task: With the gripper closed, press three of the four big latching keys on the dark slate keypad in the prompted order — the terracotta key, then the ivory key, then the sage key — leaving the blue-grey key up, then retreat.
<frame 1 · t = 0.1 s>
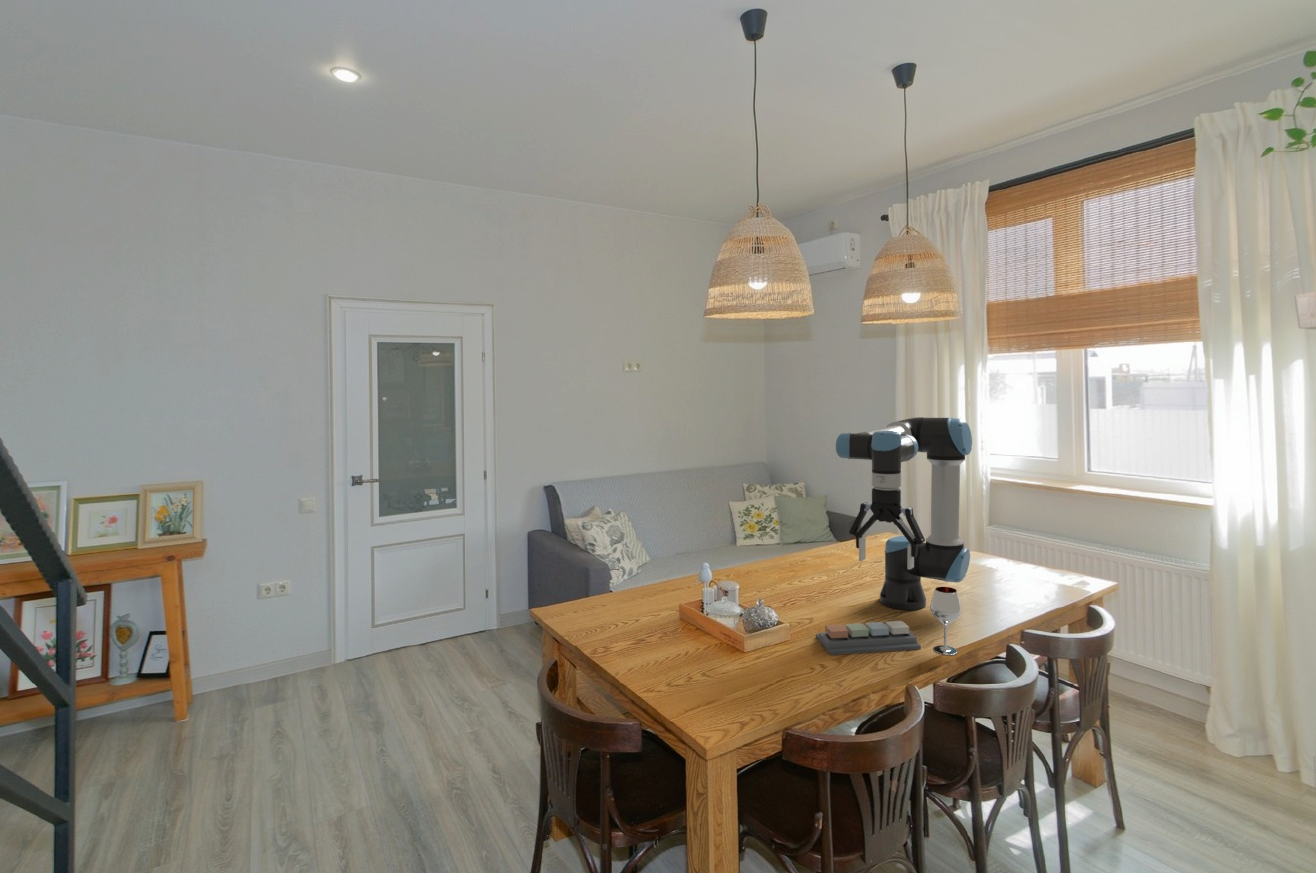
hand: (885, 564, 185), 28 cm above the table, fingers open, 13 cm apart
key terracotta: (836, 631, 199), point 4 cm above the table, slide at 0.0 cm
wineglass: (945, 651, 194), on the table
key sage: (856, 629, 200), point 4 cm above the table, slide at 0.0 cm
key bluegrey: (877, 628, 200), point 4 cm above the table, slide at 0.0 cm
key ivory: (897, 627, 201), point 4 cm above the table, slide at 0.0 cm
keypad: (867, 642, 200), on the table
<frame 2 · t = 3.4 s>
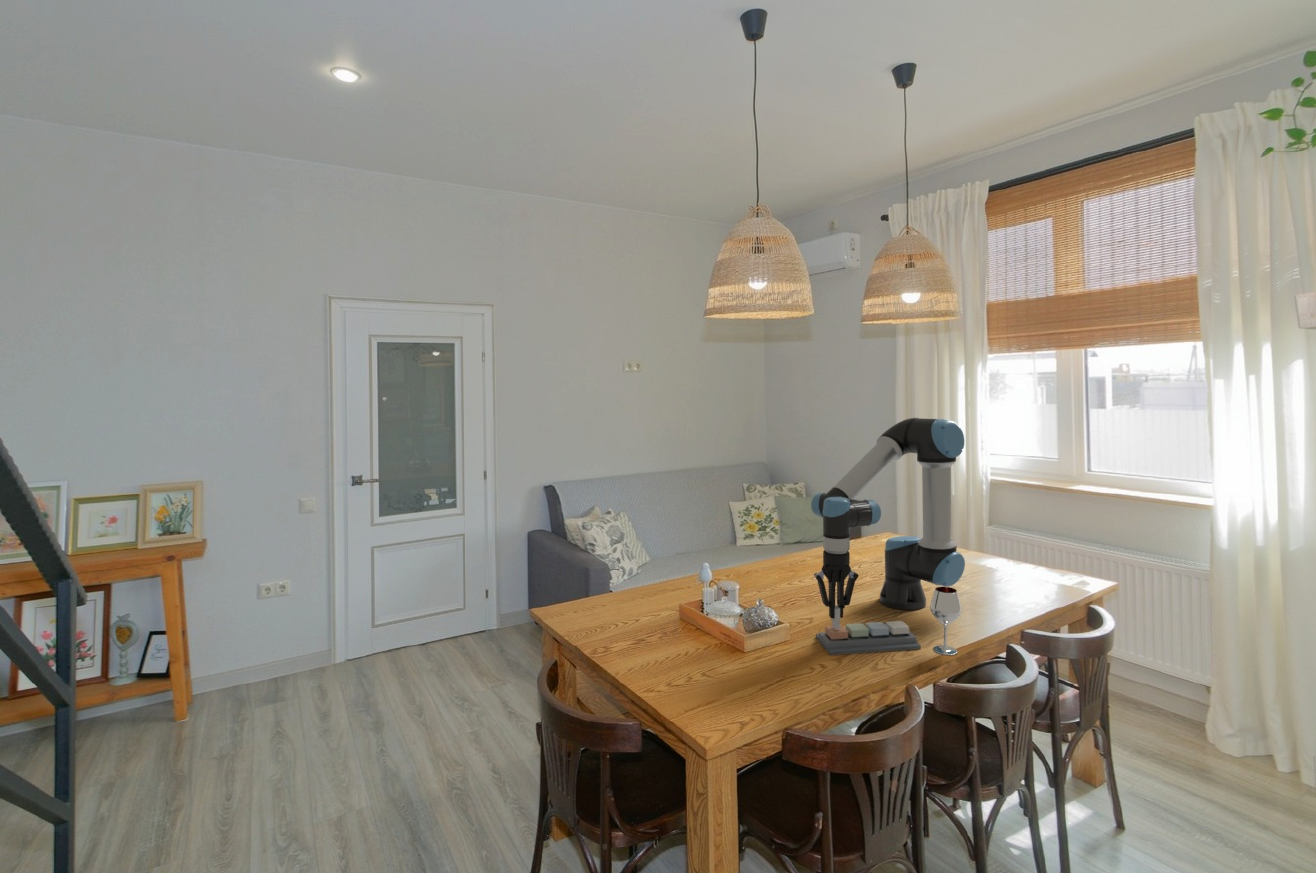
hand: (836, 628, 199), 5 cm above the table, fingers closed
key terracotta: (836, 632, 199), point 4 cm above the table, slide at 0.3 cm, touching gripper
everything else where it was.
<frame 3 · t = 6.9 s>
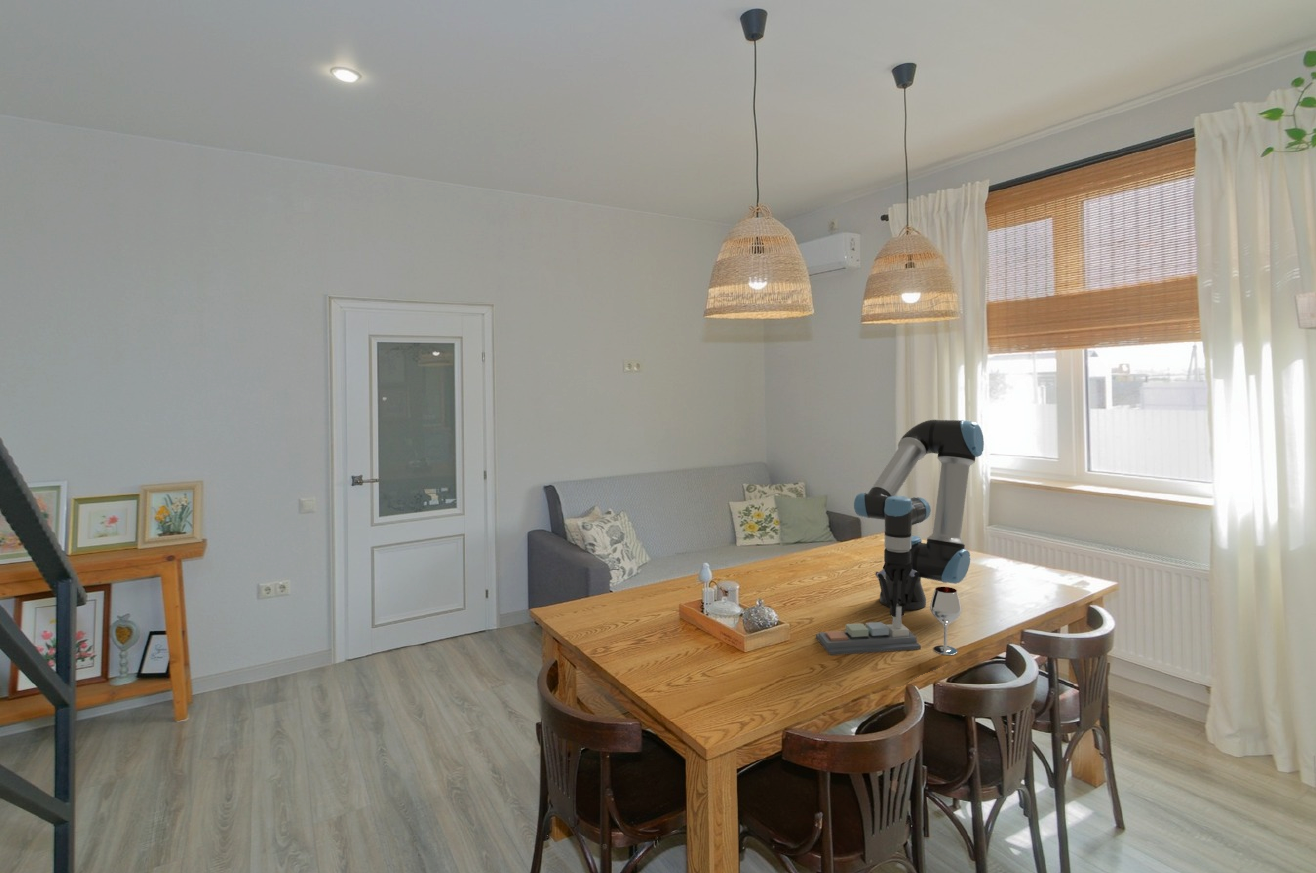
hand: (896, 626, 200), 5 cm above the table, fingers closed
key terracotta: (836, 637, 199), point 2 cm above the table, slide at 2.0 cm
key ivory: (897, 630, 201), point 3 cm above the table, slide at 0.9 cm, touching gripper
everything else where it was.
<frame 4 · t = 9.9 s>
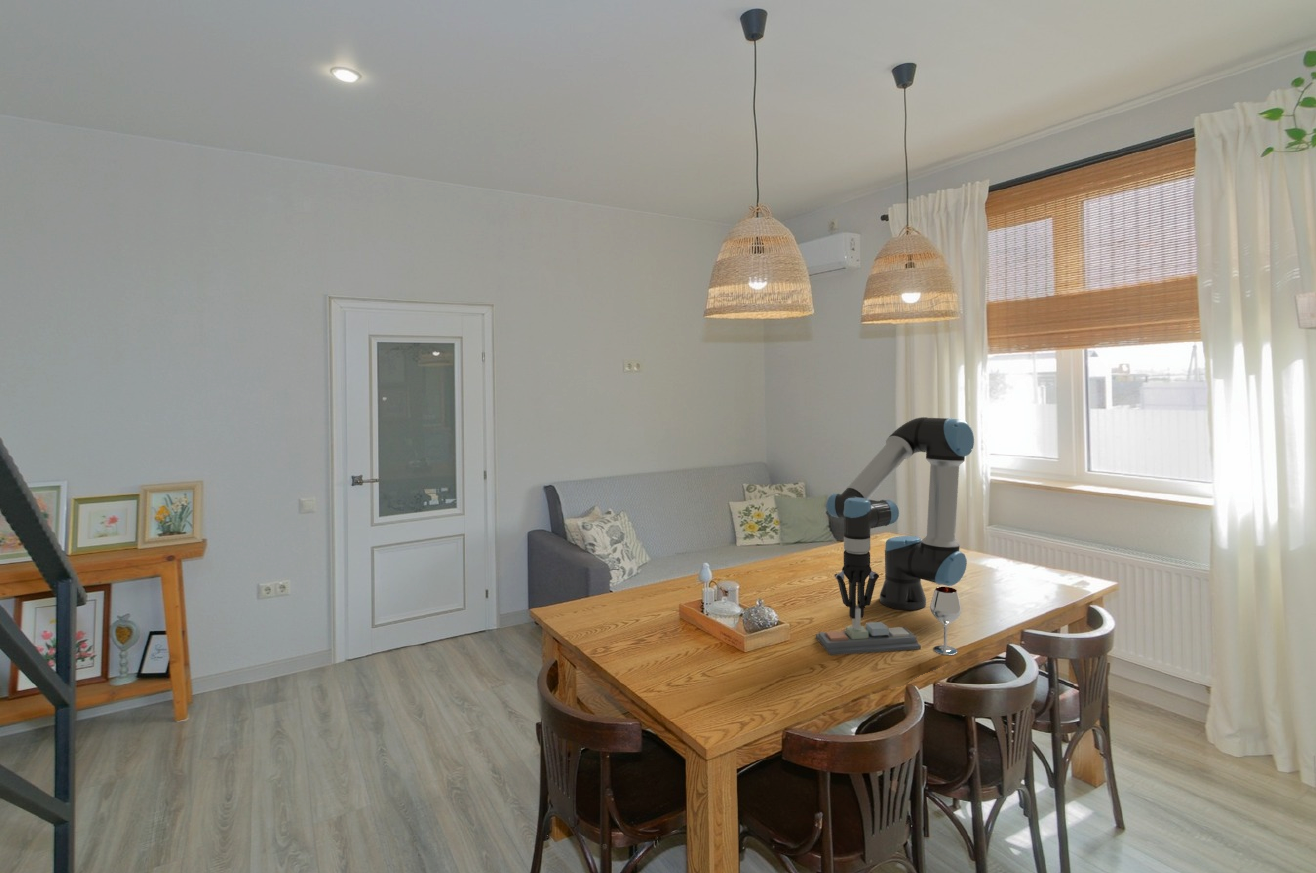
hand: (856, 628, 199), 5 cm above the table, fingers closed
key sage: (856, 632, 200), point 3 cm above the table, slide at 0.7 cm, touching gripper
key ivory: (897, 633, 201), point 2 cm above the table, slide at 2.0 cm
everything else where it was.
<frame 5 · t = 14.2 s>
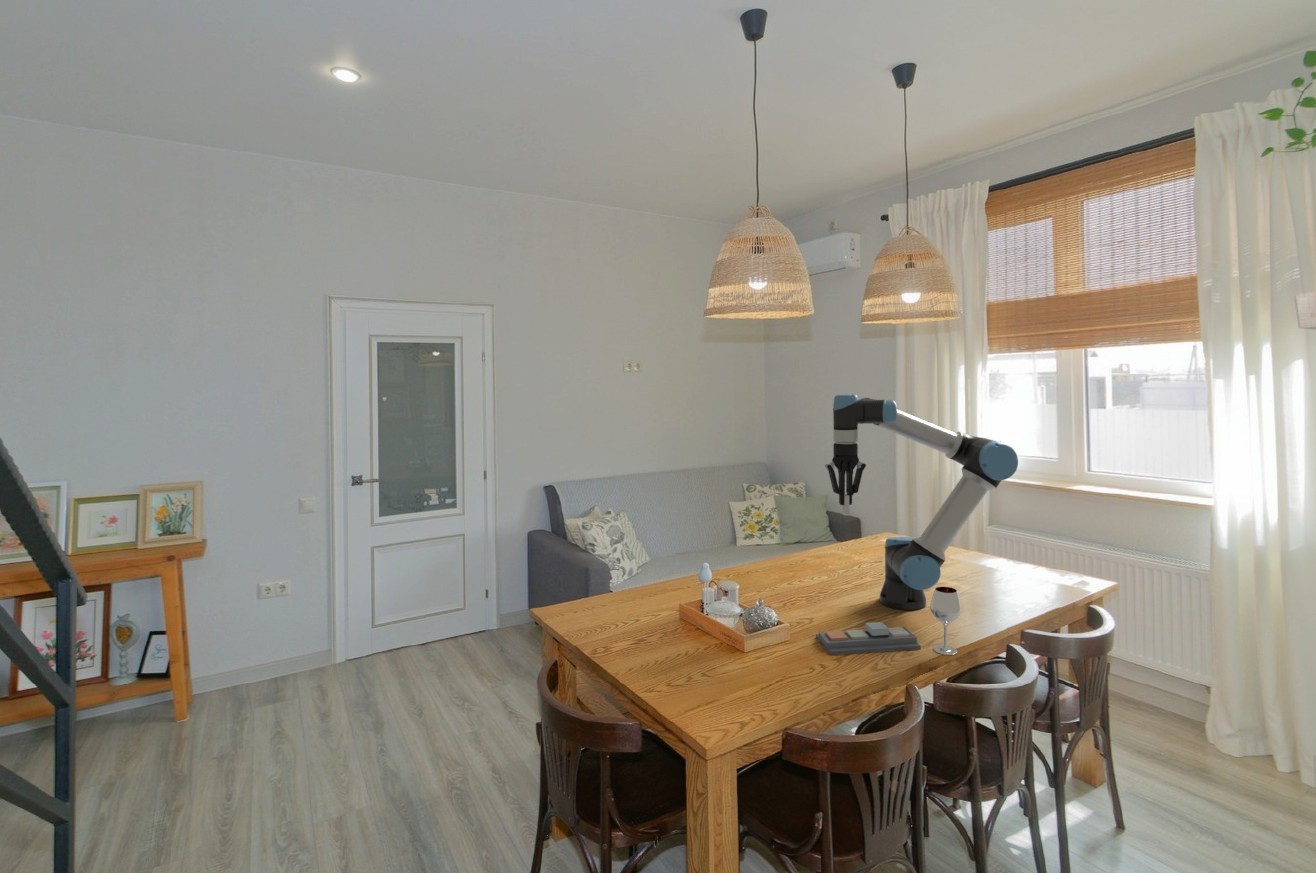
hand: (845, 514, 218), 34 cm above the table, fingers closed
key sage: (856, 636, 200), point 2 cm above the table, slide at 2.0 cm
everything else where it was.
at the end: key terracotta slide at 2.0 cm; key ivory slide at 2.0 cm; key sage slide at 2.0 cm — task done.
